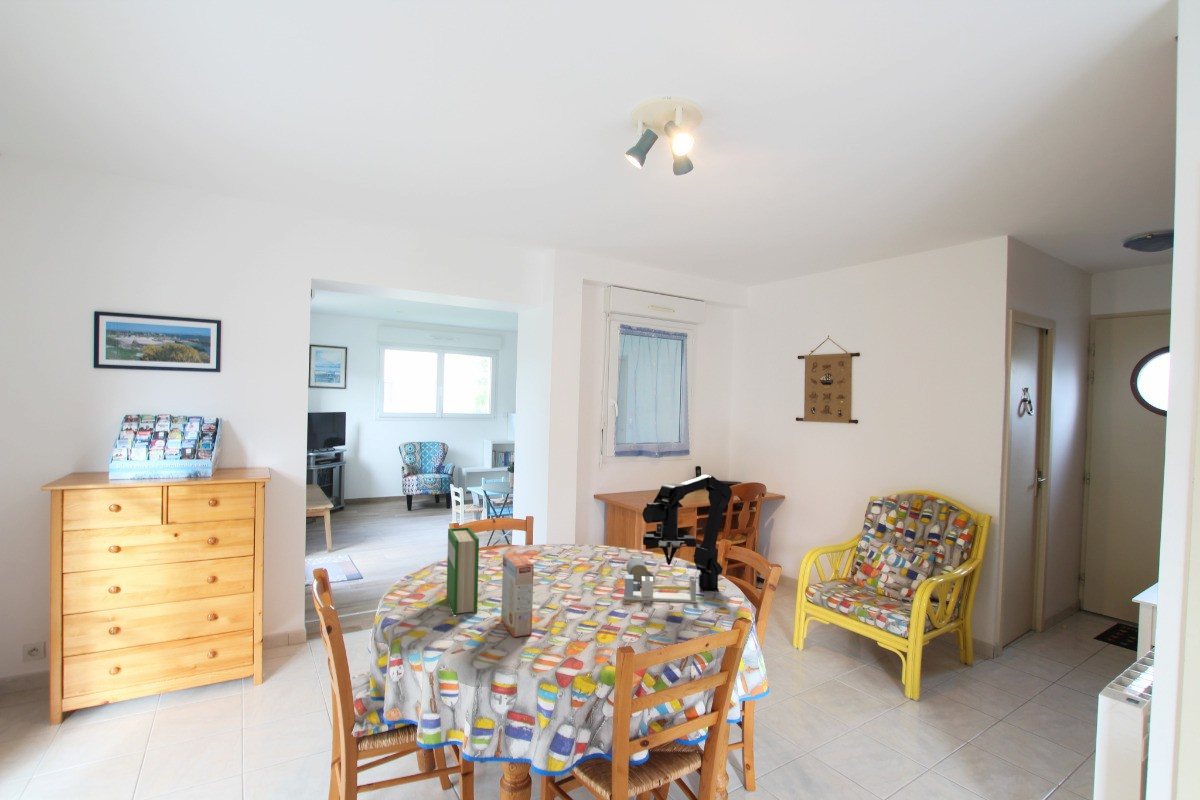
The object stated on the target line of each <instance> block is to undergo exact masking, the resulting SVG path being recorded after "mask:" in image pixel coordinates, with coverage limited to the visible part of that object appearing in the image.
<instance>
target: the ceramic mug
mask: <svg viewBox="0 0 1200 800" xmlns="http://www.w3.org/2000/svg"><path fill="white" fill-rule="evenodd" d="M626 572H627V575H633V582H640V583H642V576H649V577H653V581H654V580H655V578H656V576H655V575H654V574H653V573H651V572H650V571H648V568H647V565H646V564H645V561H644V560H643V559H641V558H639V557H633V558H631V559H629V561H627V564H626Z"/></svg>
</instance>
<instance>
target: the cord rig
mask: <svg viewBox="0 0 1200 800" xmlns="http://www.w3.org/2000/svg"><path fill="white" fill-rule="evenodd" d="M641 588H642V584H641V582H635V581H633V575H629V574H624V600H627V601H648V602H649V601H650V602H652V601H653V602H671V603H672V602H677V603H697V580H696V579H695V575H689V586H683V585H681V586H680V585H679V586H677V585H654V584H653V590H668V591H669V590H673V591H674V590H675V591H688V593H685V592H684V593H679V592H657V591H655V592H654V591H653V597H650V596H642V593H641Z"/></svg>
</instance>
